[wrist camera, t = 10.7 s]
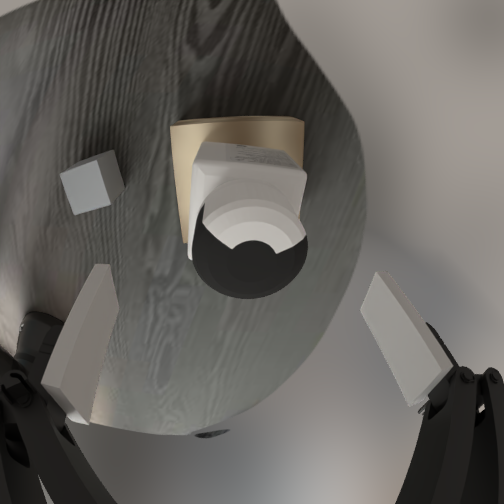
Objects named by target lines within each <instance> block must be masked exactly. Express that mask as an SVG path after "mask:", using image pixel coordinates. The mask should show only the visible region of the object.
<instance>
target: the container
mask: <svg viewBox="0 0 504 504" xmlns="http://www.w3.org/2000/svg"><path fill="white" fill-rule="evenodd" d="M306 180H307V174H306V172H305V171H304V170H303V169H302V168H301V167H300V166H299V165H298V164H297V163H296V162H295V161H294V160H293V159H292V158H291V157H290V156H289V155H288V154H287V153H286V152H285V151H284V150H279V149H272V148H264V147H257V146H248V145H240V144H230V143H219V142H207V141H205V142H202V143H201V145H200V147H199V150H198V152H197V154H196V157H195V159H194V162H193V164H192V176H191V191H190V208H189V230H188V257H189V259H190V260H193V264H194V267H195V269H196V271H197V273H198V275H199V276H200V277H201V279H202V280H203V281H204V282H205V283H206V284H207V285H208V286H210V287H211V288H212V289H214V290H216V291H218V292H219V293H222V294H224V295H227V296H230V297H234V298H241V299H254V298H260V297H265V296H268V295H271V294H273V293H275V292H277V291H279V290H281V289H282V288H284V287H285V286H286V285H288V284H289V283H290V282H291V281H292V280H293V279H294V278H295V277H296V276H297V275H298V273H299V272H300V270H301V269H302V267H303V265H304V263H305V260H306V256H307V250H308V241H307V236H306V233H305V230H304V227H303V226H302V224H301V222H300V220H299V218H298V216H299V211H300V207H301V203H302V198H303V194H304V189H305V185H306Z"/></svg>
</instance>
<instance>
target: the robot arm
mask: <svg viewBox="0 0 504 504" xmlns="http://www.w3.org/2000/svg"><path fill="white" fill-rule="evenodd" d="M119 309H120V308H119V304H118V300H117V296H116V292H115V287H114V283H113V278H112V273H111V268H110V264H95V265H94V267H93V269H92V271H91V272H90V274H89V276H88V278H87V280H86V282H85V284H84V285H83V287H82V289H81V291H80V293H79V295H78V297H77V299H76V301H75V303H74V305H73V307H72V309H71V311H70V313H69V316H68V318H67V320H66V322H65V324H64V323H63V322H61V321H60V320H58V319H56V318H54V317H52V316H50V315H47V314H44V313H40V312H31V313H29V314H27V315H26V316H25V318H24V319H23V321H22V323H21V325H20V329H19V336H18V343H17V350H16V354H15V356H14V358H13V357H12V356H11V355H10V354H9V353H8V352H7V351H6V350H5V349H4V348H3V347H2V346H1V345H0V504H47V502H46V499H45V496H44V493H43V490H42V487H41V483H40V480H39V477H40V479H41V481H42V483H43V485H44V487H45V489H46V490H47V492H48V494H49V496H50V497H51V499H52V501H53V503H54V504H117V503H116V501H115V500H114V499H113V498H112V496H111V495H110V494H109V492H108V491H107V490H106V488H105V487H104V485H103V484H102V483H101V481H100V480H99V478H98V477H97V475H96V474H95V472H94V471H93V469H92V468H91V466H90V465H89V463H88V462H87V460H86V458H85V457H84V455H83V453H82V452H81V450H80V448H79V447H78V445H77V443H76V441H75V439H74V438H73V436H72V434H71V432H70V430H69V428H68V426H67V424H66V423H65V418H66V415H67V416H68V417H69V418H70V419H71V420H72V421H74V422H78V423H83V424H87V425H89V422H90V417H91V412H92V407H93V403H94V398H95V394H96V389H97V385H98V381H99V377H100V373H101V369H102V366H103V362H104V358H105V355H106V351H107V347H108V344H109V341H110V337H111V334H112V331H113V328H114V324H115V321H116V318H117V315H118V312H119ZM360 312H361V314H362V315H363V317H364V319H365V321H366V323H367V325H368V327H369V328H370V330H371V332H372V334H373V336H374V338H375V340H376V342H377V343H378V345H379V347H380V349H381V351H382V353H383V355H384V357H385V359H386V361H387V363H388V365H389V367H390V369H391V371H392V373H393V375H394V377H395V379H396V381H397V383H398V385H399V387H400V389H401V392H402V393H403V396H404V398H405V400H406V402H407V404H408V406H411V405H415V404H417V403H420V402H421V401H422V400H423V399H424V398H425V397H426V396H427V395H428V397H429V399H430V400H428V401H427V402H426V403H425V405H423V407H421V408H420V410H419V411H418V413H419V414H420V413H421V412H422V411H423V410H424V409H425V412H424V413H423V414H422V415H424V416H423V421H422V425H421V429H420V433H419V436H418V440H417V444H416V447H415V451H414V454H413V457H412V460H411V463H410V466H409V469H408V472H407V475H406V478H405V480H404V483H403V486H402V488H401V492H400V494H399V496H398V498H397V501H396V503H395V504H504V383H503V379H502V376H501V375H500V373H499V371H498V370H496V369H494V368H492V367H491V368H488V369H487V370H486V371H485V372H484V373H483V374H474V373H473V372H472V371H471V370H470V369H469V368H467V367H464V366H462V367H459V366H458V364H457V362H456V361H455V359H454V357H453V356H452V354H451V353H450V351H449V350H448V348H447V347H446V345H444V342H443V341H442V339H441V338H440V336H439V335H438V333H437V332H436V330H435V329H434V328H433V327H432V326H431V325H430V324H428V323H427V322H426V323H425V322H424V320H423V319H422V318H421V316H420V315H419V313H418V312H417V311H416V309H415V308H414V306H413V305H412V303H411V302H410V301H409V299H408V298H407V297H406V295H405V294H404V293H403V291H402V290H401V289H400V287H399V286H398V285H397V284H396V282H395V281H394V279H393V278H392V277H391V276H390V275H389V273H388V272H387V271H376V273H375V275H374V278H373V280H372V283H371V285H370V287H369V290H368V292H367V295H366V297H365V300H364V302H363V304H362V306H361V308H360ZM483 404H484V407H485V409H484V410H483V411H482V412H481V413H479V408H480V407H481V406H482V405H483ZM38 475H39V477H38Z"/></svg>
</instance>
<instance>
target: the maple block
mask: <svg viewBox="0 0 504 504" xmlns="http://www.w3.org/2000/svg"><path fill="white" fill-rule="evenodd" d="M170 132H171V144H172V155H173V165H174V174H175V183H176V192H177V200H178V208H179V215H180V222H181V229H182V236H183V243H188V230H189V208H190V191H191V176H192V164H193V162H194V159H195V157H196V154H197V152H198V150H199V147H200V145H201V143H202V142H205V141H207V142H219V143H230V144H240V145H248V146H257V147H264V148H272V149H279V150H284V151H285V152H286V153H287V154H288V155H289V156H290V157H291V158H292V159H293V160H294V161H295V162H296V163H297V164H298V165H299V166H300V167H301V168H302V169H303V148H304V121H302V120H299V119H297V118H294V117H291V116H235V117H215V118H201V119H190V120H180V121H178V122H176V123H175V124H173V125H172V126H170ZM299 217H300V211H299V216H298V218H299Z"/></svg>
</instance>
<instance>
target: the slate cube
mask: <svg viewBox="0 0 504 504" xmlns="http://www.w3.org/2000/svg"><path fill="white" fill-rule="evenodd" d="M60 177H61V180H62V183H63V186H64V189H65V192H66V194H67V197H68V200H69V203H70V205H71V208H72V211H73V213H74V215H77V214H80V213H84V212H87V211H90V210H94V209H97V208H101V207H104V206H108V205H111V204H112V203H113V202H114V201H115V199H116V198H117V197H118V196H119V195H120V194H121V193H122V191H123V190H124V189H125V186H124V183H123V180H122V177H121V173H120V170H119V166H118V163H117V159H116V156H115V152H114V149H113V150H110V151H107V152H104V153H101V154H98V155H95V156H93V157H90V158H87V159H84V160H82V161H79V162H77V163H76V164H74V165H73V166H71V167H69V168H68V169H66V170H65V171H63V172H62V173H60Z"/></svg>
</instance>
